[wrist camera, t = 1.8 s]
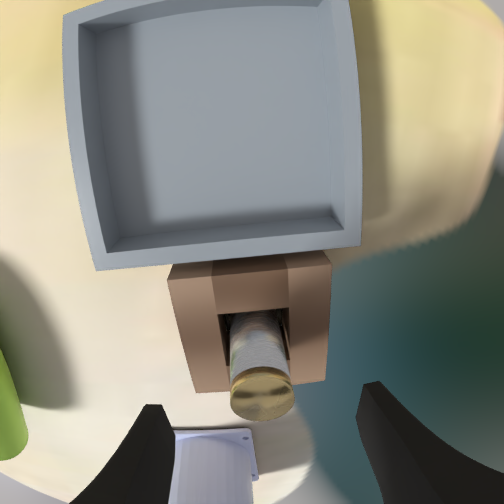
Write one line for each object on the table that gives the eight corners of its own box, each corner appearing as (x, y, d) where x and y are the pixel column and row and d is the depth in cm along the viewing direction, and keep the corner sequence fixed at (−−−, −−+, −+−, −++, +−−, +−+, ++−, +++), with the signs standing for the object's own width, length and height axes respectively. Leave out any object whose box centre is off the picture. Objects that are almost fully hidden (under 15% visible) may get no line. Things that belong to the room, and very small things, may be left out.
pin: (274, 320, 18) (294, 417, 11) (232, 324, 18) (234, 423, 11) (272, 283, 17) (294, 377, 10) (227, 288, 17) (226, 384, 10)
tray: (343, 227, 16) (360, 245, 14) (113, 250, 16) (95, 271, 13) (328, -2, 11) (344, -21, 9) (85, 27, 11) (62, 15, 9)
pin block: (313, 346, 19) (324, 380, 16) (199, 357, 19) (195, 392, 16) (315, 239, 16) (331, 264, 13) (177, 252, 16) (166, 280, 13)
